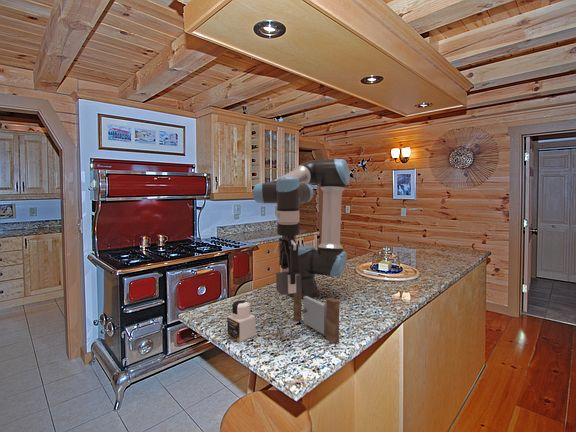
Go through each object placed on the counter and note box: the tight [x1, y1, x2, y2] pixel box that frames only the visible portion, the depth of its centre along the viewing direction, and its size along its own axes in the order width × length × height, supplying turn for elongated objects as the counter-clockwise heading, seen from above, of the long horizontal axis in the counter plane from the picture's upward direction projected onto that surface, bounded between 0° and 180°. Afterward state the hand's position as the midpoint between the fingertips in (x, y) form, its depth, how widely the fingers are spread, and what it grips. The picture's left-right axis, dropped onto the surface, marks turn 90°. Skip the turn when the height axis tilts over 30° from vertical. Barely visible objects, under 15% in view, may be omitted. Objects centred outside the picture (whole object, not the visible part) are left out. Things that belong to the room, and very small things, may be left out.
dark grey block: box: [275, 271, 301, 296], centre depth 110 cm, size 7×6×6 cm
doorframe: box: [293, 285, 340, 344], centre depth 116 cm, size 2×24×14 cm, turn 33°
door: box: [302, 296, 327, 338], centre depth 115 cm, size 3×13×11 cm, turn 33°
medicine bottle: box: [226, 299, 257, 343], centre depth 111 cm, size 7×7×12 cm
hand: (288, 289), depth 111 cm, fingers closed on dark grey block, 6 cm apart
